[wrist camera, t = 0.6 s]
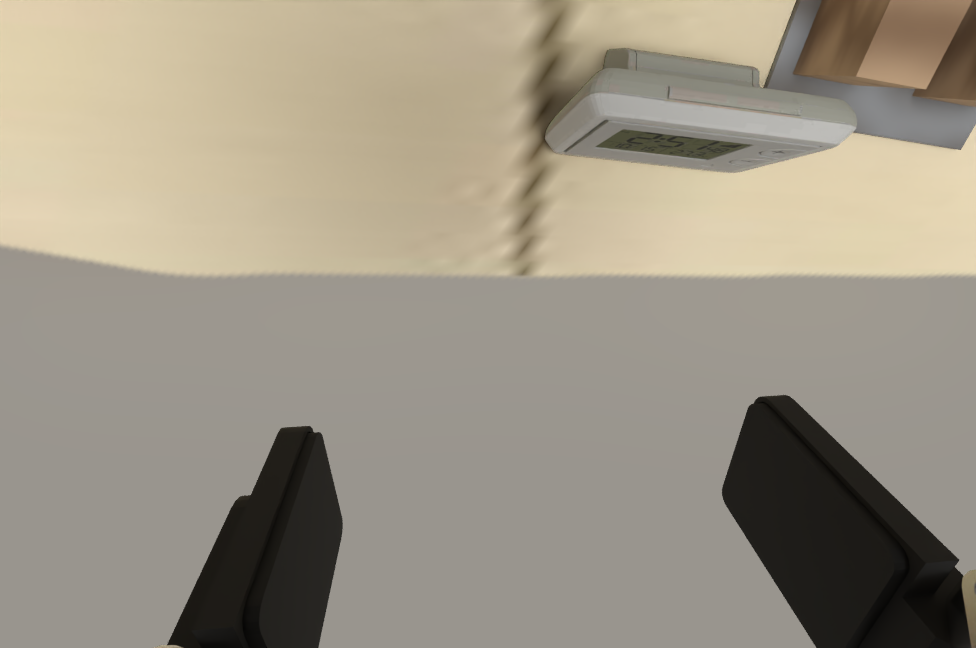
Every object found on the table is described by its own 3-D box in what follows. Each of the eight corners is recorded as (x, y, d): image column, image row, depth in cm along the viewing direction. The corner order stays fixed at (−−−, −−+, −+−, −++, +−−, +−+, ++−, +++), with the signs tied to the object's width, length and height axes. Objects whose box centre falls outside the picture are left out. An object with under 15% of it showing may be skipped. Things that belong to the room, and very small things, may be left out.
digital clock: (530, 142, 35) (561, 171, 26) (577, 4, 32) (634, -20, 22) (713, 205, 39) (798, 250, 30) (776, 89, 35) (897, 98, 26)
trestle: (830, -89, 30) (918, -123, 25) (1061, -34, 33) (1188, -53, 27) (753, 115, 36) (811, 125, 30) (955, 149, 38) (1043, 163, 33)
